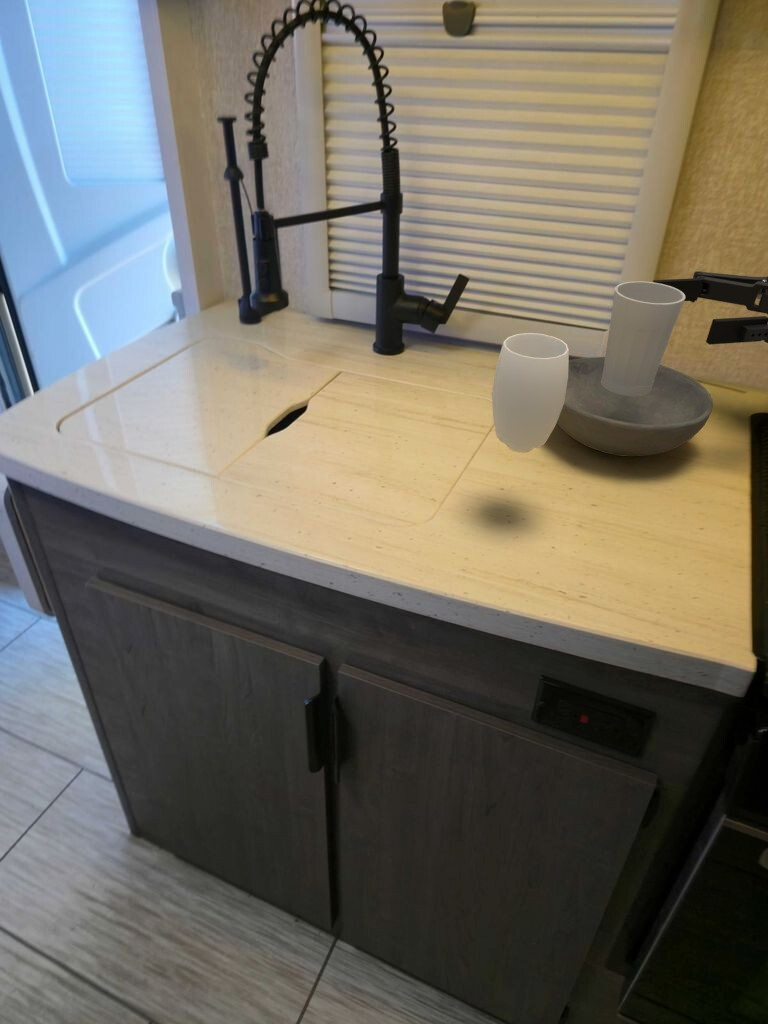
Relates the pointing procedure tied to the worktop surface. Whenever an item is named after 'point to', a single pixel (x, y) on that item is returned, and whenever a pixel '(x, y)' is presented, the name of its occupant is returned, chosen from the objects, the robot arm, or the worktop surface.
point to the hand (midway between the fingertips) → (679, 310)
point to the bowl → (632, 411)
